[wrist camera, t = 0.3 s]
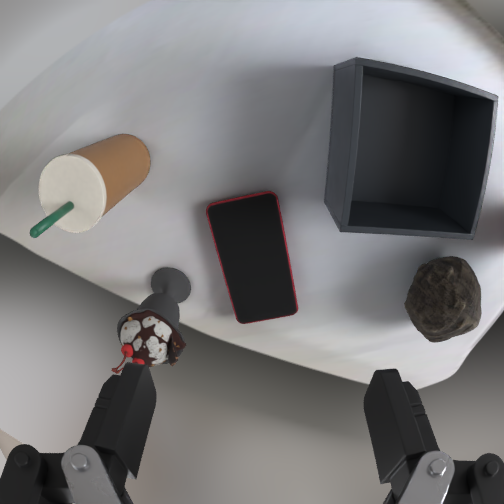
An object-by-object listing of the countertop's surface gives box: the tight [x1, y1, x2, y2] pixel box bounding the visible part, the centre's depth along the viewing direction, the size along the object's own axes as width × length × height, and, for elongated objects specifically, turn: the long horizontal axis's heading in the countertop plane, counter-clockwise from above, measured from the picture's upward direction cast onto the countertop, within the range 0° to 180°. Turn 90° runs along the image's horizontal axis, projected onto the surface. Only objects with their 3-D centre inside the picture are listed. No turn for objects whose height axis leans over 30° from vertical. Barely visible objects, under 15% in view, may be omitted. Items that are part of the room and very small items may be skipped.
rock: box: [404, 256, 481, 342], centre depth 33 cm, size 10×11×10 cm
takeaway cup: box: [30, 134, 150, 238], centre depth 24 cm, size 6×6×17 cm
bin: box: [324, 57, 498, 240], centre depth 26 cm, size 14×14×8 cm
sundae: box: [112, 268, 191, 373], centre depth 31 cm, size 7×7×15 cm
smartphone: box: [206, 191, 298, 324], centre depth 35 cm, size 7×1×15 cm
